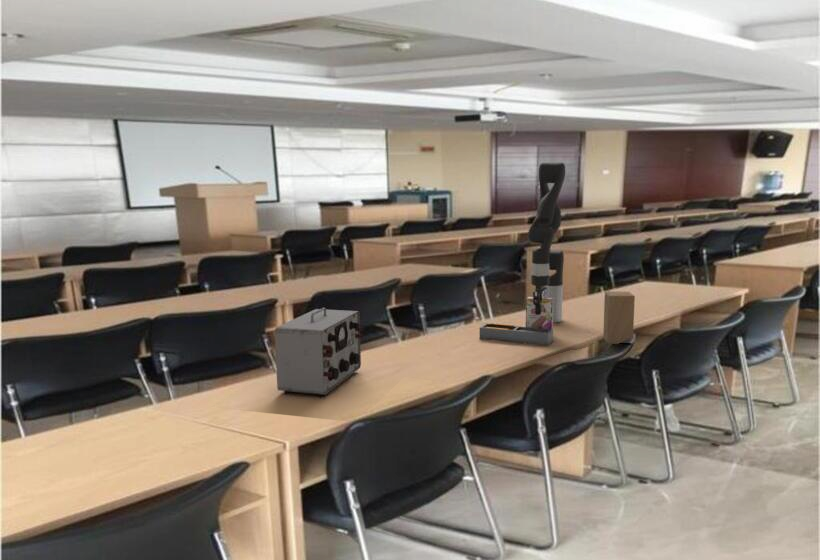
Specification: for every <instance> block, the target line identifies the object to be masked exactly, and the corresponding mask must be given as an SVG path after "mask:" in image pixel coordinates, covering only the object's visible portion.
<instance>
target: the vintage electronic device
mask: <svg viewBox="0 0 820 560" xmlns="http://www.w3.org/2000/svg"><path fill="white" fill-rule="evenodd" d="M360 316H361V315H360V311H358V310H344V309H342V310H339V309H327V308H325V307H322V308H320V309H319V308H315V309H313V310H311V311H309V312H306V313H304V314H302V315H300V316H298V317H296V318H294V319H292V320H289V321H287V322H285V323H282V324H280V325H279V326H276V327H275V329H274V343H275V344H274V347H275V363H276V364H275V365H276V366H275V367H276V368H275V369H276V389H277V391H282V392H284V394H286V395H288V394H289V395H290V394H292V392H293V393H303V394H315V395H317V397H318V398H319V397H320V398H324V397H325V396H326V395H327V394H328V393H330V392H331V391H333V390H334V389H335V388H336V387H337V386H339V385H340V384H341V383H343V382H344V381H345V380H347V379H348V378H349V377H351V376H352V375H354V374H355V373H356V372H357V371H358V370H359V369H361V366H362V358H361V357H362V355H361V354H362V353H361V352H362V351H361V349H362V348H361V339H363V338H364V337H365V336H364V334H362V333H361V332H363V331H364V327H361V319H360V318H361V317H360Z"/></svg>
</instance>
